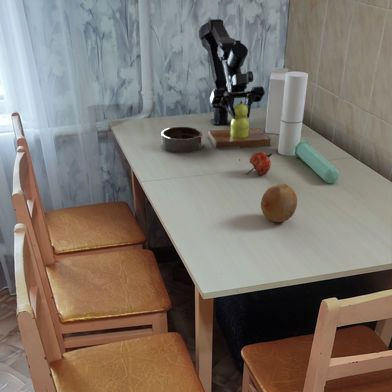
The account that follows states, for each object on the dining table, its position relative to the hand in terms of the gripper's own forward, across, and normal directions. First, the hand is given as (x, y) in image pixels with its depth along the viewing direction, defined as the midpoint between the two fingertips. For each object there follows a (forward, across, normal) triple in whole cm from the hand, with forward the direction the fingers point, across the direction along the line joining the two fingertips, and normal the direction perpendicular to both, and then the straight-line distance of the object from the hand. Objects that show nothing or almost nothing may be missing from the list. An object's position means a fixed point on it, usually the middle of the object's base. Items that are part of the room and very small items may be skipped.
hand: (241, 118), depth 191 cm
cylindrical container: (+15, +14, -2) cm, 21 cm away
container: (+28, +16, -15) cm, 36 cm away
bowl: (+6, -22, +7) cm, 23 cm away
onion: (+50, -10, -38) cm, 64 cm away
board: (+5, 0, +8) cm, 9 cm away
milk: (-1, +17, +14) cm, 22 cm away
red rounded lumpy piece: (+27, -3, -14) cm, 31 cm away
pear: (+3, 0, +6) cm, 6 cm away
